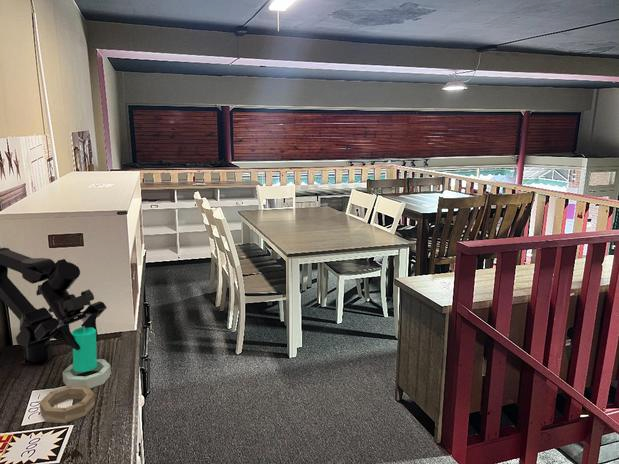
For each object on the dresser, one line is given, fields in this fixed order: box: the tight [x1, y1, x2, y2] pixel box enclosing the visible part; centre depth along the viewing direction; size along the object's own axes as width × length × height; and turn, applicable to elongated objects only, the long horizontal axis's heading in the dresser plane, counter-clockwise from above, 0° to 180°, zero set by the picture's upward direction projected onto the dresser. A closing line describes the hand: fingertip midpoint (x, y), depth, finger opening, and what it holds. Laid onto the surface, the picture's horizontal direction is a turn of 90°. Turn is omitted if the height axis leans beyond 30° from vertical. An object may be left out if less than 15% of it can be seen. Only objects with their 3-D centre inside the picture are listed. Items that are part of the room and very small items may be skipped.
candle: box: [71, 326, 98, 373], centre depth 122 cm, size 6×6×12 cm
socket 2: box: [39, 385, 95, 424], centre depth 110 cm, size 11×11×3 cm
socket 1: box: [62, 358, 112, 389], centre depth 124 cm, size 11×11×3 cm
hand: (88, 345), depth 122 cm, fingers closed on candle, 5 cm apart
